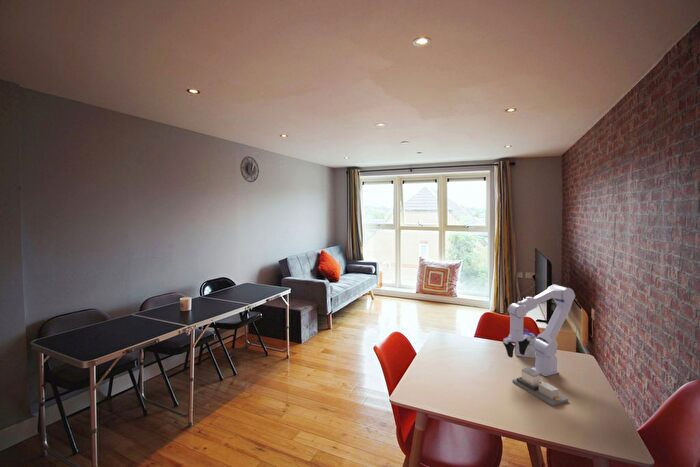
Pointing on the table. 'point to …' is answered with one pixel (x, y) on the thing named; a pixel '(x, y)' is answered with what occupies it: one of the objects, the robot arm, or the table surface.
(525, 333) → the ink cartridge box
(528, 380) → the plug
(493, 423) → the table surface
